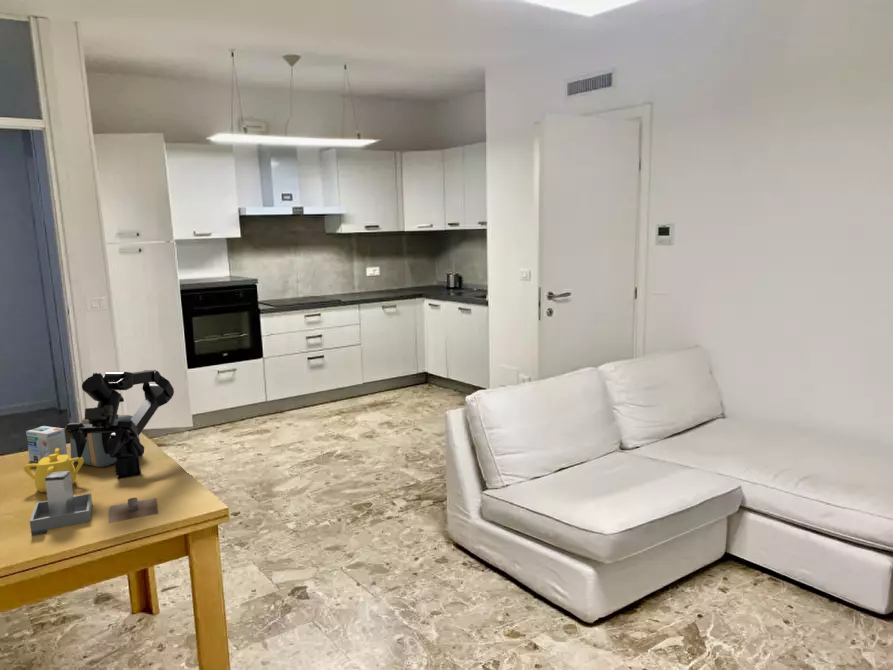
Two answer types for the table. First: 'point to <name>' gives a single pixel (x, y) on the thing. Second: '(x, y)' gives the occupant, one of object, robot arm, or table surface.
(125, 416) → the grey toaster
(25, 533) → the table surface
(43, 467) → the teapot
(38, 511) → the bin
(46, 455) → the light bulb box
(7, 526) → the table surface
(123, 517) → the stud base
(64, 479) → the strut
